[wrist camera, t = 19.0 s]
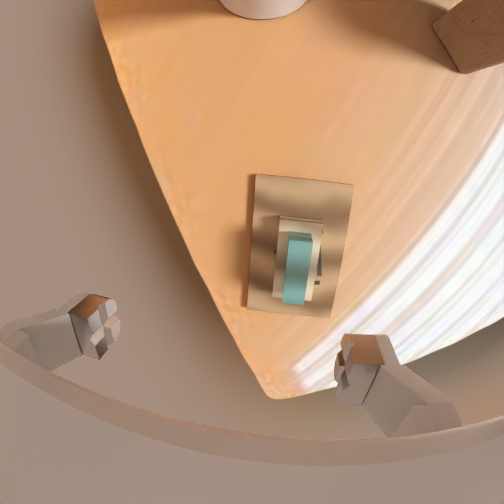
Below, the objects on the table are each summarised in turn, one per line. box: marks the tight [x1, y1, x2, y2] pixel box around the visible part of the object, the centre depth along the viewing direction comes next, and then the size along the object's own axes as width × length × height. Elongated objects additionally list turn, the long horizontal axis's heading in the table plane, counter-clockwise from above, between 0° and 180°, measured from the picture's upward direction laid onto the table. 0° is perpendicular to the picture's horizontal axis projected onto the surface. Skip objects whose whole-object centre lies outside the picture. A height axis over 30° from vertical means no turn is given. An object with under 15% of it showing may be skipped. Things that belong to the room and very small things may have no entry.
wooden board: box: [247, 174, 353, 318], centre depth 43 cm, size 22×14×1 cm, turn 176°
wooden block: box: [432, 0, 504, 74], centre depth 18 cm, size 10×10×20 cm
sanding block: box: [272, 215, 323, 305], centre depth 40 cm, size 12×6×6 cm, turn 177°
